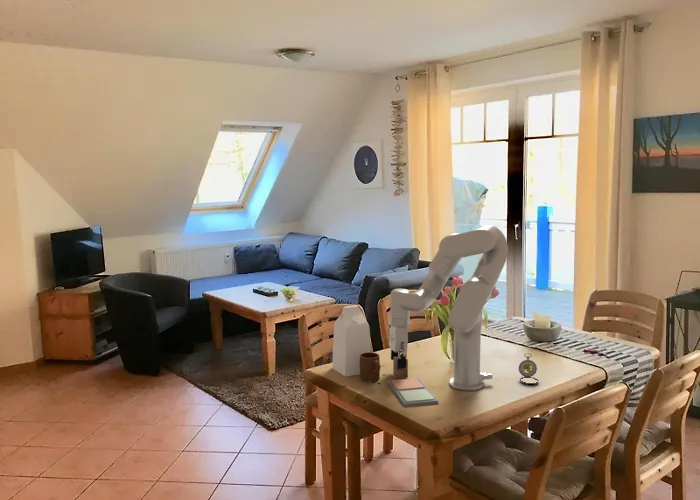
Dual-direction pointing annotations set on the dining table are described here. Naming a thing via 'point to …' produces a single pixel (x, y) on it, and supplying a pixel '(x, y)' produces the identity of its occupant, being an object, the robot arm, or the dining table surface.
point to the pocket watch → (527, 369)
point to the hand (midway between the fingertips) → (398, 363)
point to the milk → (350, 341)
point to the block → (399, 372)
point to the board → (412, 392)
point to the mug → (369, 367)
